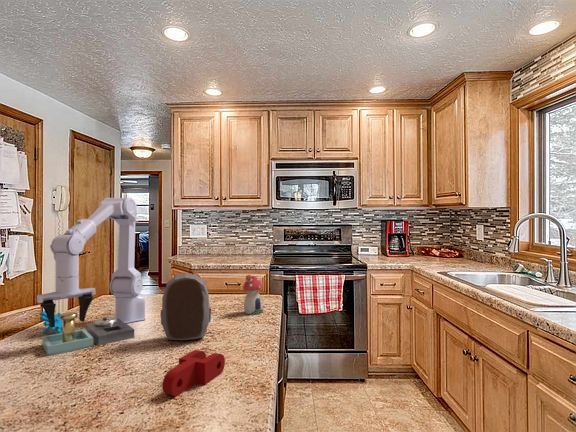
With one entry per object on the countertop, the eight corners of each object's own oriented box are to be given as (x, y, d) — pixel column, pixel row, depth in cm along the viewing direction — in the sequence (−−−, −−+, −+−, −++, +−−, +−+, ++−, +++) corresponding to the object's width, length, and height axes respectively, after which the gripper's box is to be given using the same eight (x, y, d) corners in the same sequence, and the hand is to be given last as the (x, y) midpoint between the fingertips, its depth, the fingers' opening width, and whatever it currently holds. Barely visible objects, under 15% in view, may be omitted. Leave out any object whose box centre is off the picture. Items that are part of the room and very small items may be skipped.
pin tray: (84, 337, 113) (84, 329, 113) (93, 346, 104) (93, 337, 104) (41, 345, 106) (41, 336, 106) (47, 356, 97) (47, 346, 97)
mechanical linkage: (200, 367, 90) (200, 347, 90) (224, 371, 88) (224, 351, 88) (153, 396, 76) (153, 372, 76) (181, 403, 73) (181, 378, 73)
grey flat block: (118, 325, 125) (118, 312, 125) (134, 337, 112) (134, 323, 112) (85, 331, 118) (85, 318, 118) (98, 344, 106) (98, 330, 106)
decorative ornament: (248, 316, 136) (248, 276, 136) (238, 313, 140) (238, 274, 141) (267, 312, 142) (267, 273, 142) (257, 309, 147) (256, 271, 147)
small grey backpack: (158, 344, 106) (158, 275, 107) (163, 334, 115) (163, 271, 115) (211, 341, 109) (211, 273, 109) (212, 332, 117) (212, 269, 117)
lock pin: (78, 340, 108) (78, 311, 108) (75, 345, 104) (75, 315, 104) (61, 342, 107) (62, 312, 107) (57, 347, 102) (57, 316, 102)
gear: (57, 333, 111) (37, 309, 113) (42, 347, 111) (22, 323, 112) (79, 327, 122) (60, 305, 124) (65, 340, 122) (47, 318, 123)
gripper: (89, 272, 113) (89, 316, 113) (33, 277, 102) (33, 326, 102) (98, 274, 108) (98, 320, 108) (40, 280, 98) (40, 331, 98)
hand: (67, 323), depth 105 cm, fingers open, 7 cm apart
